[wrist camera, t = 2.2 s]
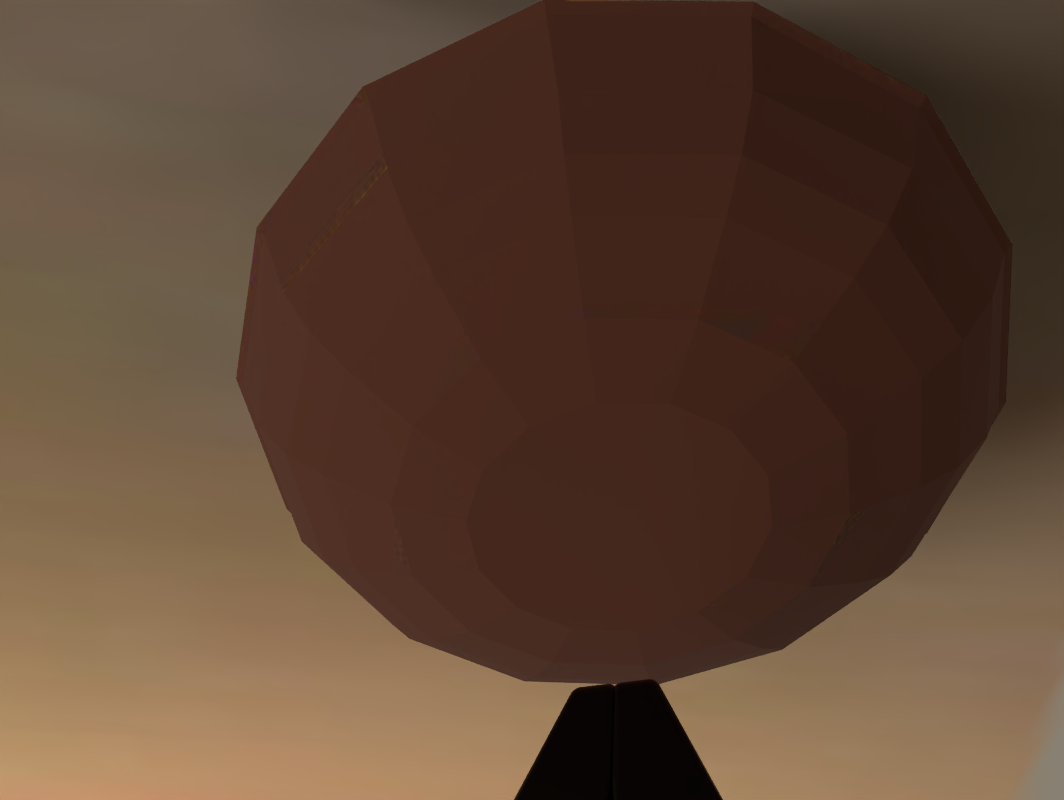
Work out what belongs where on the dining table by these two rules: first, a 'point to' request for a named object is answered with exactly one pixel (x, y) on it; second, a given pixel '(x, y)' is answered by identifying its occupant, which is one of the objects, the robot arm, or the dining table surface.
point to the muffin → (625, 338)
